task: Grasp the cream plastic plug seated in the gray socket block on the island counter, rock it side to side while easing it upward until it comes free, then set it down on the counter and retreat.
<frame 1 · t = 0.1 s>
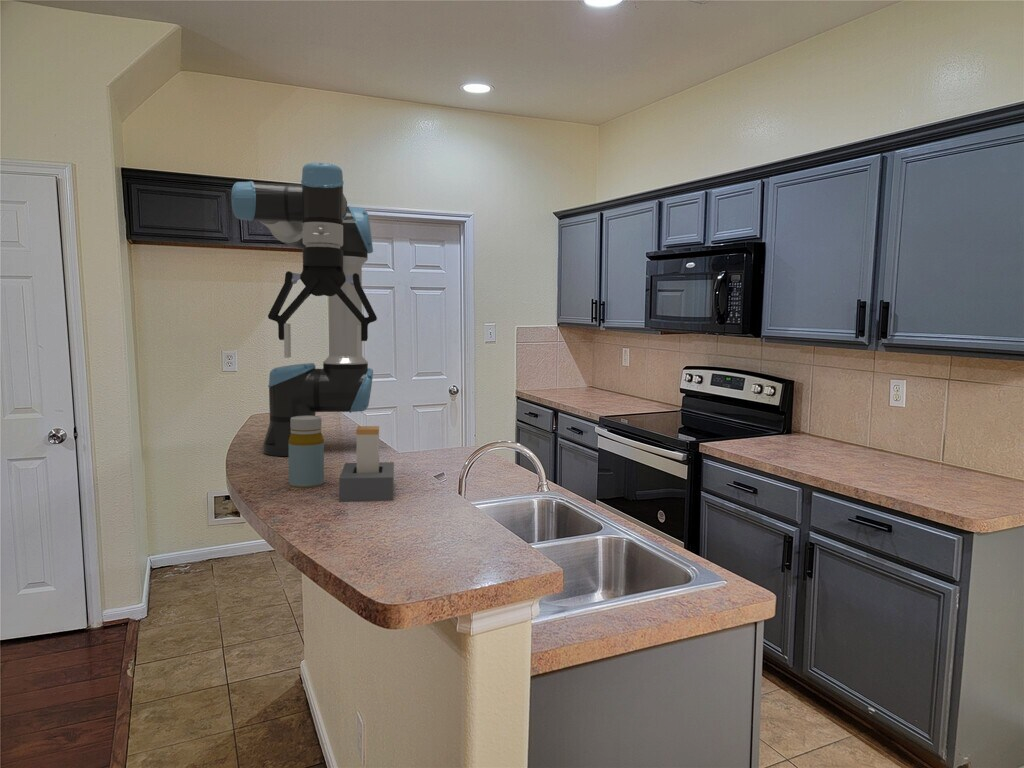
hand: (323, 357, 131), 28 cm above the table, fingers open, 13 cm apart
gray socket block: (368, 496, 135), on the table
plug: (368, 491, 135), point 1 cm above the table, touching gray socket block
bottle: (306, 489, 141), on the table
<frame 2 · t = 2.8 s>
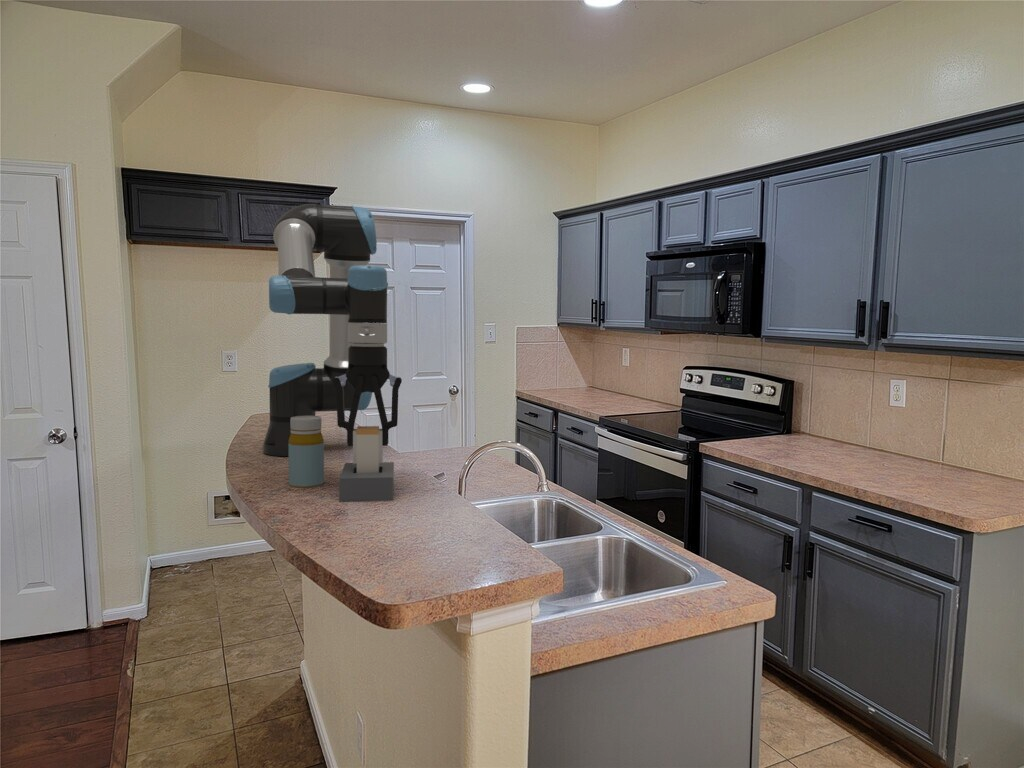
hand: (368, 461, 135), 7 cm above the table, fingers closed on plug, 4 cm apart
plug: (368, 491, 135), point 1 cm above the table, touching gripper, gray socket block
everything else where it was.
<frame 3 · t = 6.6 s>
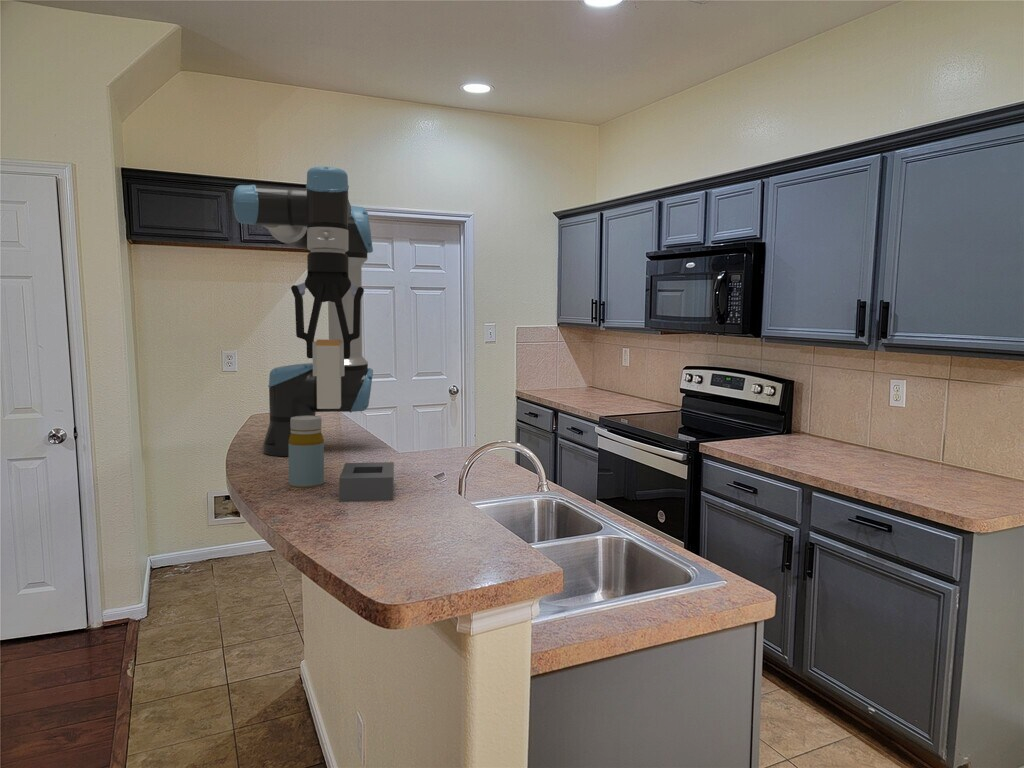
hand: (328, 375, 129), 25 cm above the table, fingers closed on plug, 4 cm apart
plug: (329, 407, 130), point 19 cm above the table, touching gripper
everything else where it was.
when the fingers open (8 cm above the table, at t = 10.4 s): plug drops 1 cm, on the table.
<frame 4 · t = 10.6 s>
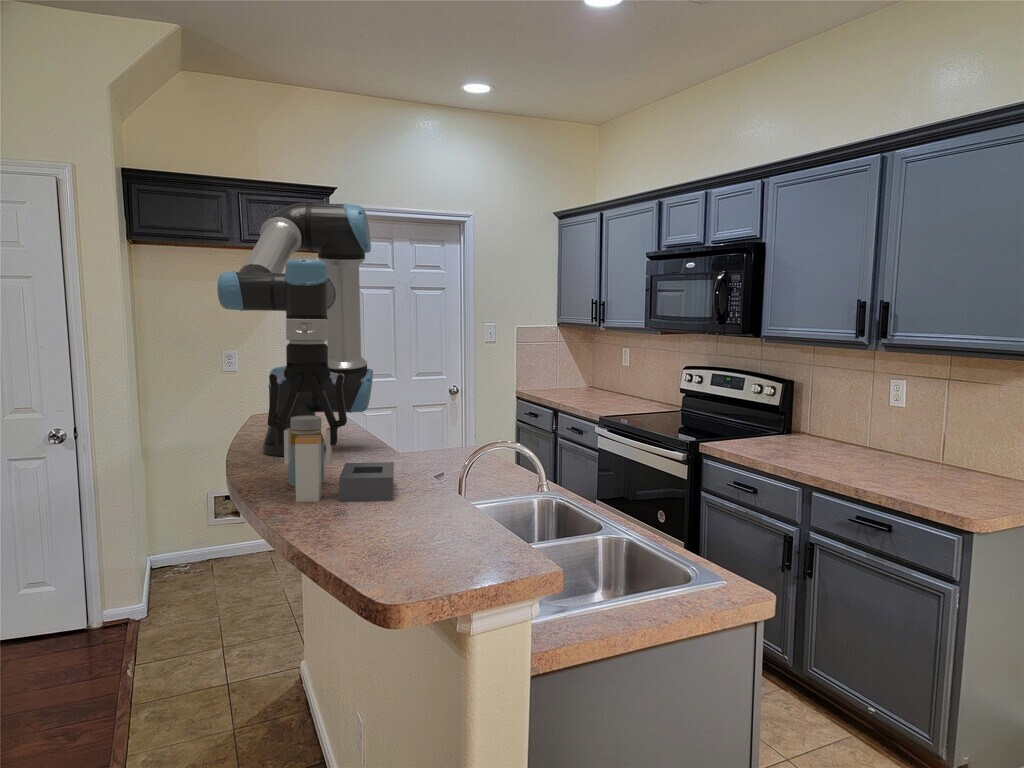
hand: (308, 462, 129), 8 cm above the table, fingers open, 7 cm apart
plug: (308, 503, 130), on the table
everything else where it was.
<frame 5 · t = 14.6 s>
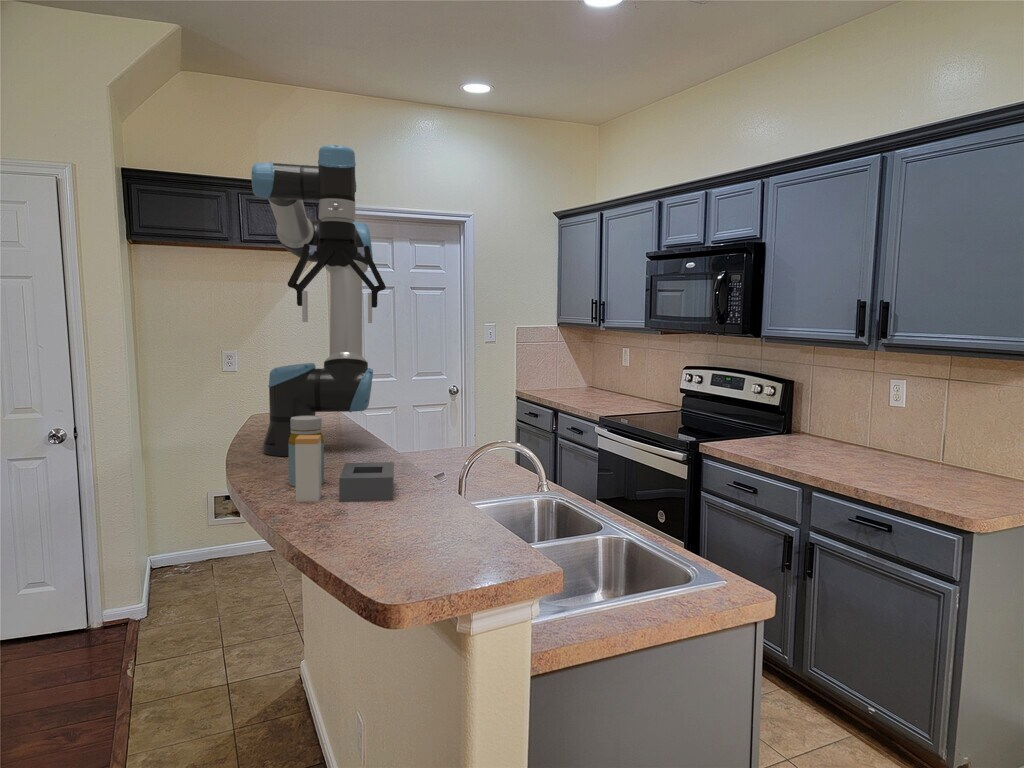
hand: (337, 322, 145), 35 cm above the table, fingers open, 13 cm apart
nothing on the table moved.
at the end: plug inside the target area (0.8 cm from its centre), on the table; plug touching table; the gripper is holding nothing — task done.
